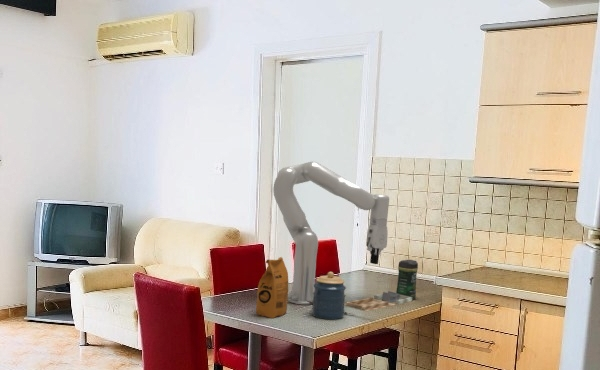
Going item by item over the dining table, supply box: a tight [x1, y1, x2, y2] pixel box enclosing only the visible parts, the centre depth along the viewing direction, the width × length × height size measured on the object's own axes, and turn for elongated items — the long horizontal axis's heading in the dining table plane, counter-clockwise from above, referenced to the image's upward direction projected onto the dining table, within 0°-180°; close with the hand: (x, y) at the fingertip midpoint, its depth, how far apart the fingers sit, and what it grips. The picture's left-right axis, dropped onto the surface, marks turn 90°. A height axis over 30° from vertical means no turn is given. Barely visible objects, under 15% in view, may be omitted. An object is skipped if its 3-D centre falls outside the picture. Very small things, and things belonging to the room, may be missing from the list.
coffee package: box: [255, 256, 289, 319], centre depth 219 cm, size 10×12×22 cm
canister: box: [311, 271, 347, 320], centre depth 223 cm, size 13×13×18 cm
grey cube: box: [387, 290, 400, 302], centre depth 253 cm, size 4×4×4 cm
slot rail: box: [344, 293, 414, 312], centre depth 246 cm, size 36×12×3 cm, turn 137°
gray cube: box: [381, 291, 395, 303], centre depth 250 cm, size 4×4×4 cm
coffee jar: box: [395, 259, 419, 300], centre depth 265 cm, size 10×8×19 cm
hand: (373, 263), depth 247 cm, fingers closed
